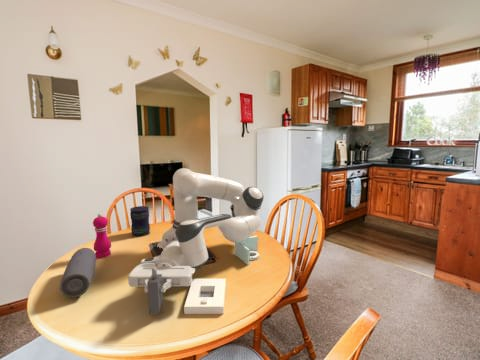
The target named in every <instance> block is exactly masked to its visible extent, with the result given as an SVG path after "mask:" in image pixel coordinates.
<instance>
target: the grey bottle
mask: <svg viewBox="0 0 480 360" xmlns="http://www.w3.org/2000/svg"><path fill="white" fill-rule="evenodd" d="M161 284H162V274H157V268H152V275H151V277H150V279H149V280H148V282H147V287H148V293H147V300H148V301H147V302H148V314H160V312H161V310H162V307H163V305H164V292H160V290H159V288H160V285H161Z"/></svg>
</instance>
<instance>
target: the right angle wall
mask: <svg viewBox="0 0 480 360" xmlns="http://www.w3.org/2000/svg"><path fill="white" fill-rule="evenodd" d="M258 238H259V236H258V235H251V236H250V237H248V238H246V239H245V240H243V241H241V242H238V243H234V255H235V256H236V257H237V258H239V259H240V260H241V261H243V263H244V264H246V265H247V266H250V264H251V263H250V261H258V259H259V258H260V253H259V252H257V251H258V249H259V247H258V246H259V244H258V243H259V242H258V241H259V239H258Z"/></svg>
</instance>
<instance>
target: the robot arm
mask: <svg viewBox="0 0 480 360" xmlns="http://www.w3.org/2000/svg"><path fill="white" fill-rule="evenodd" d="M172 187H173V188H172V189H173V201H174V203H173V204H174V219H173V220H171V221H170V224H172V226H171V227H170V228H169V229H167V230H166V231H165V232H163V234H162V237H161V241H159V242H158V243H157V245H156V247H157V248H158V247H159V249H161V248H162V249H161V250H162V251H161V253H160V255H156V256H154V257H153V256H152V257H148V258H142V259H141V261H140V264H138V265H136V266H135V267H134V268H133V269H132V270H131V271H130V273H128V275H127V282H128V285H129V287H130V288H131V287H132V288H134V287H135V288H136V287H137V288H138V287H139V288H140V287H142V288H143V287H144V294H145V293H147V294H148V287H147V282H148V280H149V279H150V277H151V275H152V268H157V274H162V284H161V285H160V288H159V290H160V292H163V293H166V290H169V289H170V288H172V287H189V286H191V284H192V280H193V275H194V274H195V273H196V271H197V270H200V269H201V268H202V267H203V266H205V264H206V263H207V262H208V260H209V258H210V257H209V252H208V249H207V244H206V241H205V236H204V231H205V230H207V229H211V228H214V227H217V228H218V229H219V231H220V232H221V234H222V235H223V237H224V238H225V240H227V241H229V242H231V243H233V244H235V243H238V242H241V241H243V240H245V239H246V238H248V237H252V236H253V234H255V233H256V232H257V231H258V230H259V228H260V227H261V219H260V216H259V215H258V210H260V209H261V207H262V204H263V202H264V193H263V192H262V190H261V189H259V188H258V187H255V186H249V187H246V188H244V185H243V184H242V183H240V182H237V181H236V180H232V179H229V178H225V177H222V176H220V177H219V176H217V175H212V174H205V173H199V172H194V171H192V170H191V169H189V168H185V167H182V168H179V169H177V170H176V171H175V172H174V174H173V176H172ZM198 197H206V198H211V199H215V200H221V201H226V202H229V203H231V205H230V207H229V208H230V211H231V214H228V213H223V214H222V213H221V214H216V215H210V216H206V217H202V218H199V204H198Z"/></svg>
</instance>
